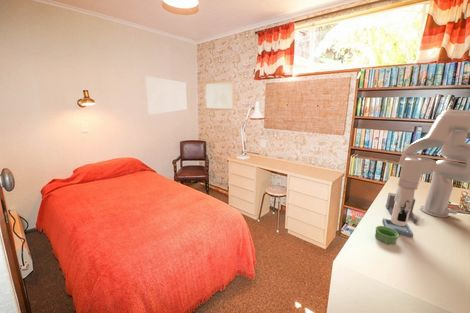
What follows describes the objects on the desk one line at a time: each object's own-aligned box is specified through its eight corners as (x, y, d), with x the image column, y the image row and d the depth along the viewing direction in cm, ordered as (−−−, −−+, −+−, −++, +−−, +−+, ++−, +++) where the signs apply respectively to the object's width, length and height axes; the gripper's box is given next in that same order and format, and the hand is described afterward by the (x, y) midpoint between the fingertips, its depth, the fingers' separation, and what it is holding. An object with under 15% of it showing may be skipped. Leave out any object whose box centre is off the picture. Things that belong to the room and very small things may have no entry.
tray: (406, 226, 115) (407, 223, 115) (412, 237, 106) (413, 234, 105) (382, 221, 119) (383, 218, 119) (386, 231, 110) (387, 228, 109)
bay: (409, 210, 133) (413, 196, 131) (418, 223, 119) (422, 208, 116) (385, 206, 138) (388, 192, 135) (391, 218, 123) (394, 203, 121)
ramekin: (369, 236, 106) (371, 227, 105) (382, 232, 110) (384, 224, 108) (388, 247, 98) (390, 238, 97) (401, 243, 102) (403, 234, 100)
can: (408, 227, 108) (415, 205, 105) (394, 225, 109) (399, 203, 106) (401, 220, 114) (407, 199, 111) (388, 219, 115) (393, 197, 112)
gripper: (394, 177, 116) (387, 208, 120) (403, 188, 100) (394, 224, 105) (412, 179, 113) (403, 212, 117) (424, 191, 97) (413, 228, 102)
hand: (399, 217), depth 111 cm, fingers closed on can, 6 cm apart
